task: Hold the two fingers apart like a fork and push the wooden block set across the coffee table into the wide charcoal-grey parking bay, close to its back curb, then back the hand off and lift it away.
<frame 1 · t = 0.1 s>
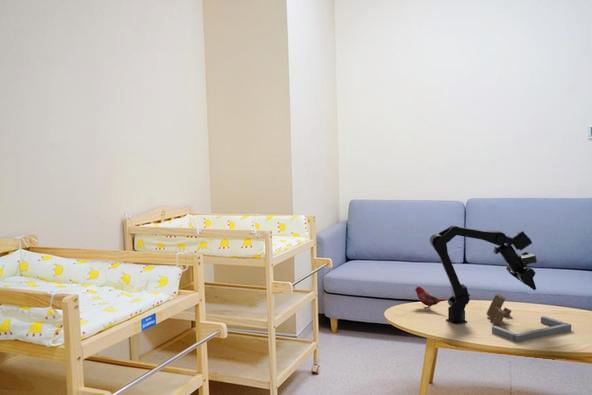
hand: (531, 287, 219), 15 cm above the table, tool tilted 35°, fingers open, 9 cm apart
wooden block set: (497, 320, 224), on the table
decorative bird figurine: (430, 309, 242), on the table
parking bay: (530, 331, 208), on the table
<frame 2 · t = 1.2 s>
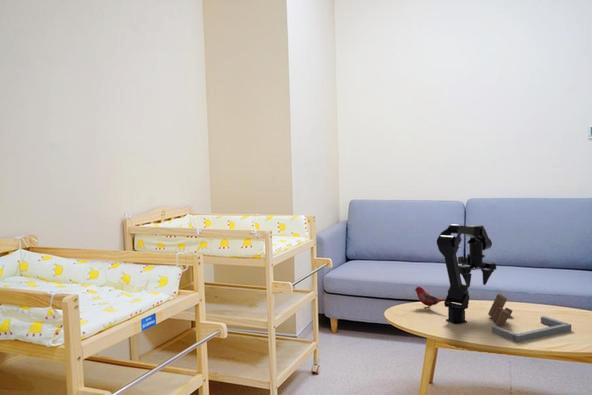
hand: (476, 286, 235), 12 cm above the table, tool pointing down, fingers open, 9 cm apart
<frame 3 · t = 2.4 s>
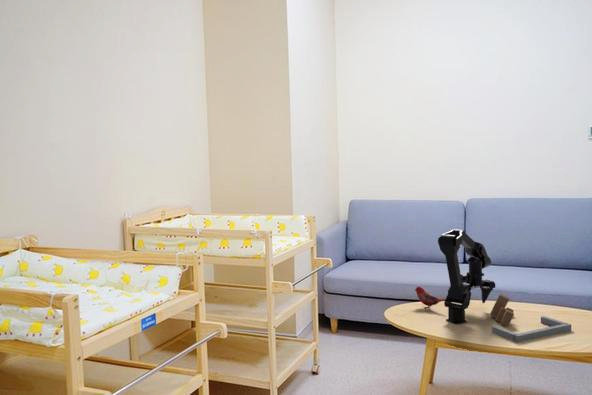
hand: (475, 304, 236), 3 cm above the table, tool pointing down, fingers open, 9 cm apart
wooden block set: (502, 320, 223), on the table
everything else where it was.
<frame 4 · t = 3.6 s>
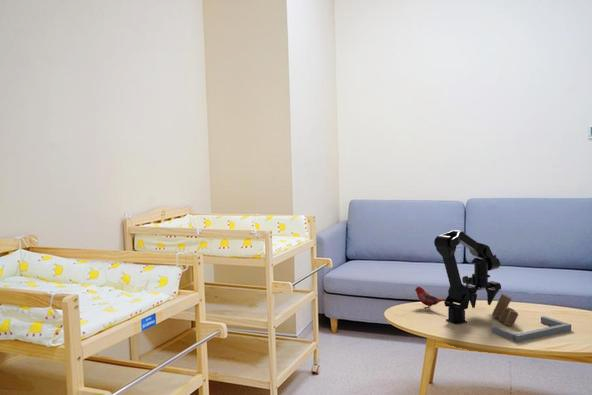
hand: (481, 306, 233), 3 cm above the table, tool pointing down, fingers open, 9 cm apart
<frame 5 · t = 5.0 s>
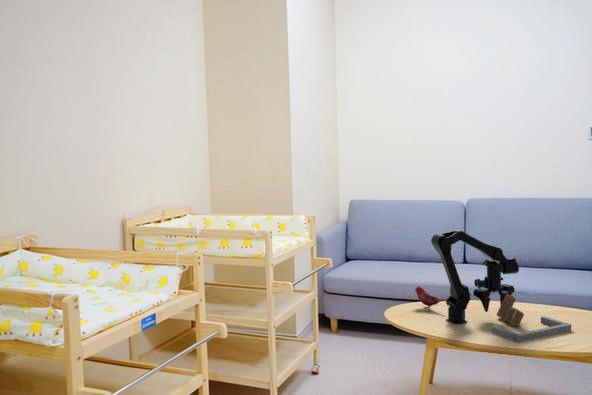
hand: (494, 310, 226), 4 cm above the table, tool pointing down, fingers open, 9 cm apart
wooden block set: (509, 321, 222), on the table, touching gripper
everything else where it was.
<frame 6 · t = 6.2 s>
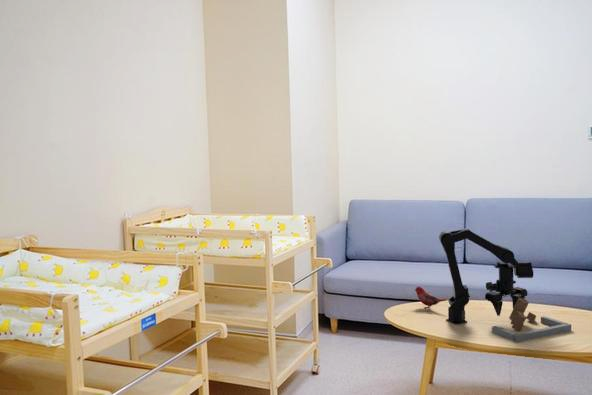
hand: (506, 314, 219), 4 cm above the table, tool pointing down, fingers open, 9 cm apart
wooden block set: (520, 325, 216), on the table, touching gripper
everything else where it was.
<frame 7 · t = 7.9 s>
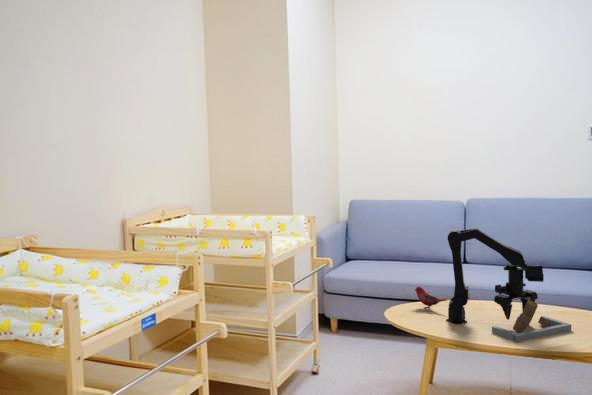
hand: (516, 317, 214), 4 cm above the table, tool pointing down, fingers open, 9 cm apart
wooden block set: (527, 328, 212), on the table, touching gripper
everything else where it was.
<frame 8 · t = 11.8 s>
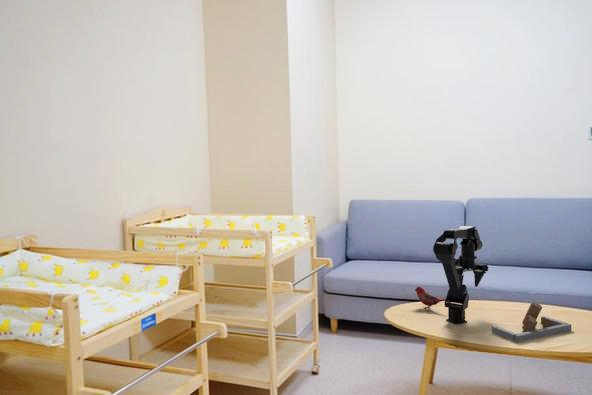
hand: (468, 287, 232), 12 cm above the table, tool pointing down, fingers open, 9 cm apart
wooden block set: (532, 330, 210), on the table
everything else where it was.
at the end: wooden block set inside the target area on the parking bay (2.7 cm from its centre), point 0.0 cm above the parking bay's base; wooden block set tilted 0°; the gripper is holding nothing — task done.
